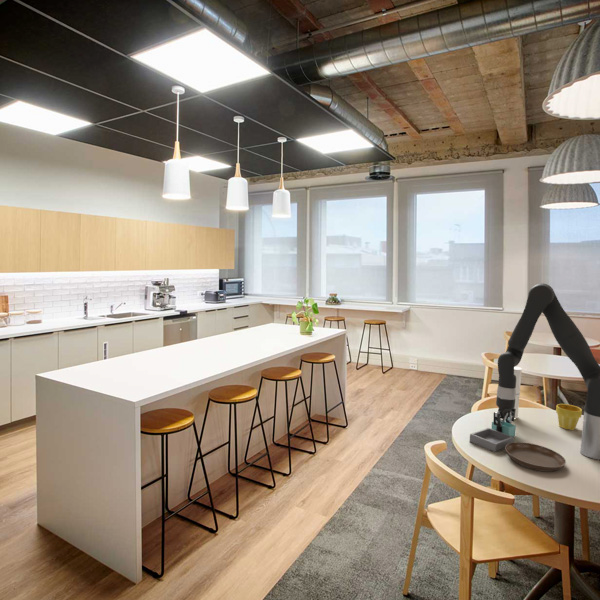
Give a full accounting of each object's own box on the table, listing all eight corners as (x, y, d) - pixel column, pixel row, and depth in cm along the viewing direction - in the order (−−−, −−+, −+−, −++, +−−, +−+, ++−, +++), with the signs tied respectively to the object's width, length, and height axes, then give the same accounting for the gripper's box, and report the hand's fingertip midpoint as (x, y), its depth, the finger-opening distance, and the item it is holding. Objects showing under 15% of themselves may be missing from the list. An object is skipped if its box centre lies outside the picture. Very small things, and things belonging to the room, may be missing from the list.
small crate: (497, 430, 196) (498, 419, 196) (514, 436, 190) (515, 425, 189) (491, 432, 193) (491, 421, 193) (508, 438, 186) (509, 427, 186)
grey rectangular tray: (487, 435, 190) (488, 427, 189) (513, 445, 180) (514, 437, 180) (469, 441, 182) (470, 434, 182) (495, 452, 172) (495, 444, 172)
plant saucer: (572, 463, 166) (572, 455, 165) (555, 480, 152) (555, 471, 151) (516, 445, 181) (516, 437, 180) (496, 459, 167) (496, 451, 166)
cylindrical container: (506, 419, 211) (510, 369, 208) (499, 413, 218) (503, 365, 216) (520, 419, 211) (524, 369, 209) (512, 414, 218) (516, 366, 216)
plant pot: (583, 433, 196) (585, 412, 195) (558, 429, 199) (560, 409, 198) (575, 424, 206) (577, 405, 205) (551, 422, 209) (553, 402, 208)
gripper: (506, 391, 197) (503, 426, 198) (488, 396, 189) (486, 433, 190) (522, 396, 191) (519, 432, 192) (505, 401, 183) (502, 439, 184)
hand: (503, 432), depth 191 cm, fingers open, 6 cm apart
